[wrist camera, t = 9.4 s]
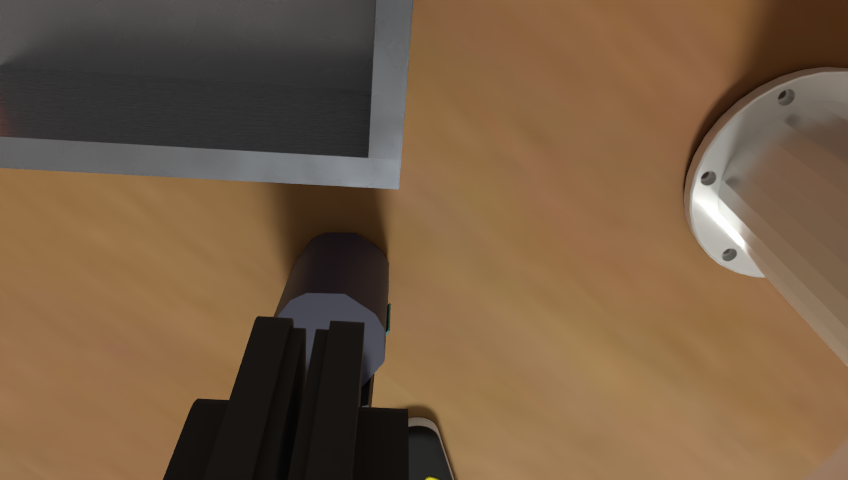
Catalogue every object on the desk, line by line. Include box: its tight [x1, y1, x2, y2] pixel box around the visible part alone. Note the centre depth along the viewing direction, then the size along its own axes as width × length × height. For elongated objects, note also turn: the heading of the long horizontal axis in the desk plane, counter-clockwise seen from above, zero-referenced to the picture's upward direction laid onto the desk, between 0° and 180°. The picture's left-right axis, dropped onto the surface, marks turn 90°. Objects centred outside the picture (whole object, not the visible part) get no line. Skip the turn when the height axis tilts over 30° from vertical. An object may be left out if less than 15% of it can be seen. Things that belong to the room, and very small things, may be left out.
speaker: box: [274, 233, 391, 407], centre depth 36 cm, size 8×6×10 cm
